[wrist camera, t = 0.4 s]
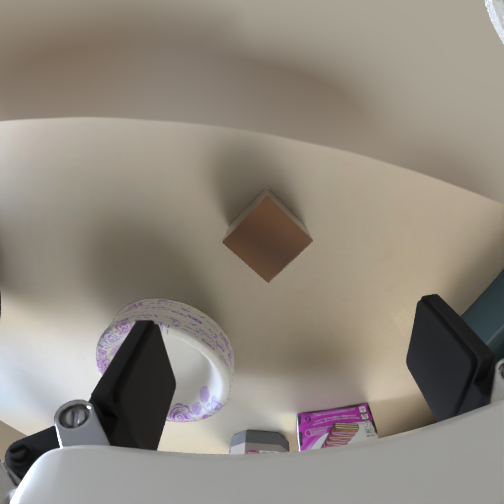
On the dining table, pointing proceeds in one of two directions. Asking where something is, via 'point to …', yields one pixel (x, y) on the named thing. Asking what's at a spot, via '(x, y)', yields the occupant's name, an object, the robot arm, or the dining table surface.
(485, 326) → the square open bin
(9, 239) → the dining table surface
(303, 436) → the candy bar box
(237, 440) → the liquor
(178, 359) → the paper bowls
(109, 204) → the dining table surface
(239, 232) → the walnut block
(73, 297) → the dining table surface
